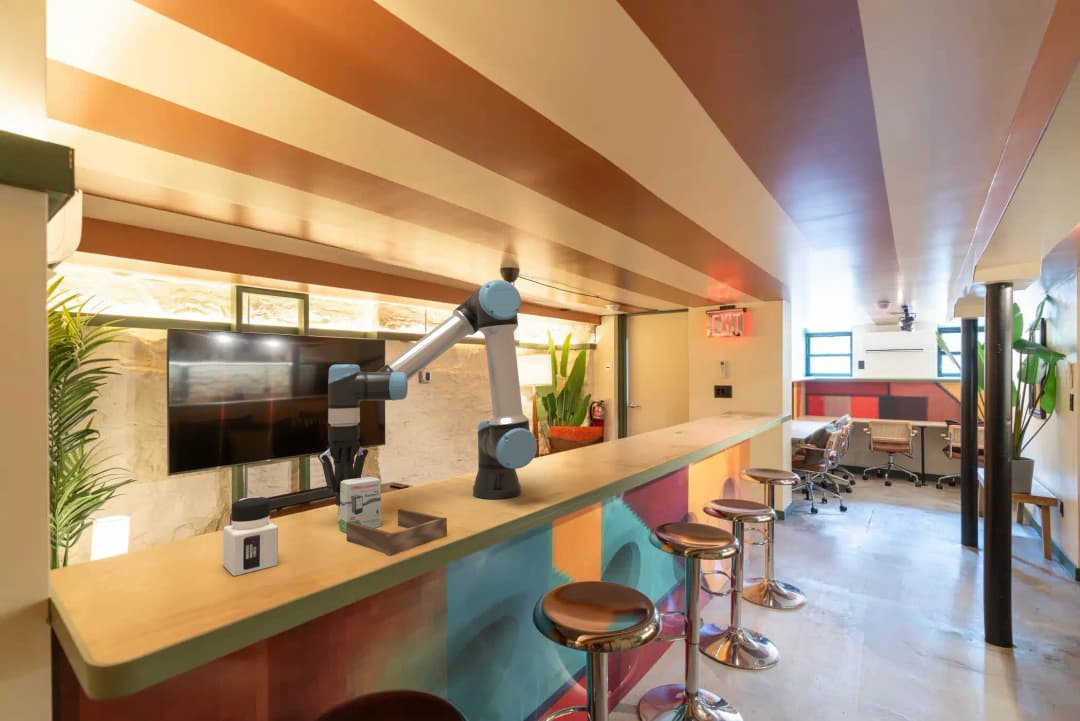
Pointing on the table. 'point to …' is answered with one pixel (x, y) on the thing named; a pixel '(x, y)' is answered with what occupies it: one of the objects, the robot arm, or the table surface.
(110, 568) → the table surface
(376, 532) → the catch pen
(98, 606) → the table surface
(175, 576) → the table surface
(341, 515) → the ink box
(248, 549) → the container
